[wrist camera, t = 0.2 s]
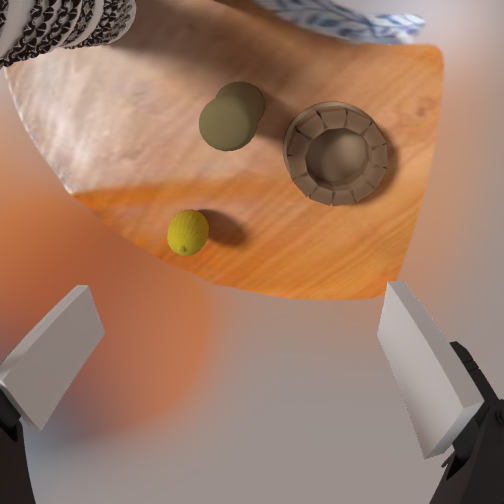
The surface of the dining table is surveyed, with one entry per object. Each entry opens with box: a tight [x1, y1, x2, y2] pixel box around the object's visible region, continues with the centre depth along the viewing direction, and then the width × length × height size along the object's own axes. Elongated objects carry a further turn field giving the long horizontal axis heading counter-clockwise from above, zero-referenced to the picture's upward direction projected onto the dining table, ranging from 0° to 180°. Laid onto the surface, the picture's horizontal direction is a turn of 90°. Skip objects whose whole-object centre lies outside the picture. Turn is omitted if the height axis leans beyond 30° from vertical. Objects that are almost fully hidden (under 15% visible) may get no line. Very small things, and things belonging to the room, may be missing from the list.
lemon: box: [167, 210, 209, 256], centre depth 38 cm, size 6×6×8 cm
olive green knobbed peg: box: [199, 82, 265, 151], centre depth 27 cm, size 6×6×11 cm
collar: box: [283, 102, 388, 206], centre depth 32 cm, size 13×13×4 cm
